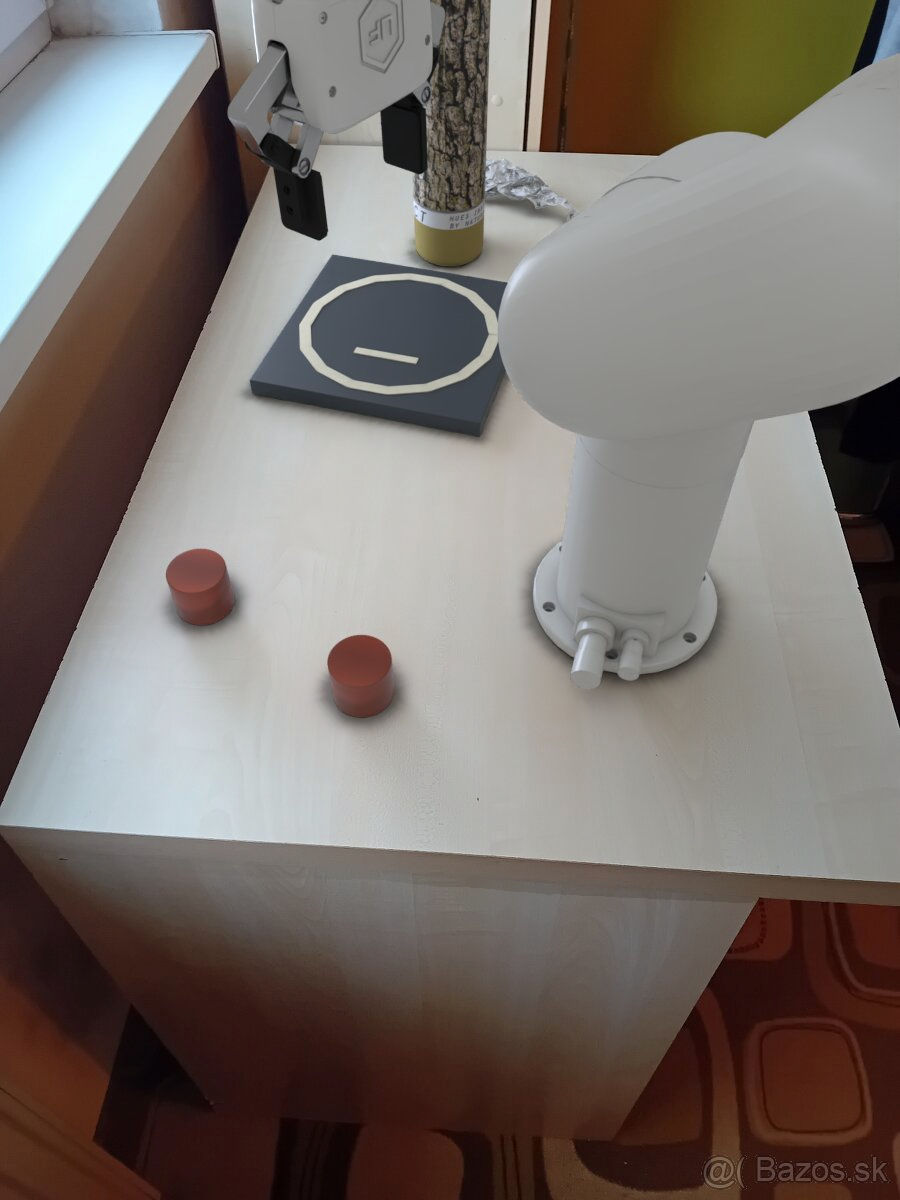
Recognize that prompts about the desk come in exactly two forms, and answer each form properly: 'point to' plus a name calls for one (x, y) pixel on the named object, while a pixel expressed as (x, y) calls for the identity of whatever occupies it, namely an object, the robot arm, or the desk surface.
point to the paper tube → (455, 140)
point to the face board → (391, 346)
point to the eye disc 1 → (200, 586)
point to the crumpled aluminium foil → (521, 186)
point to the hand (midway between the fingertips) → (357, 198)
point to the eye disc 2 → (361, 675)
